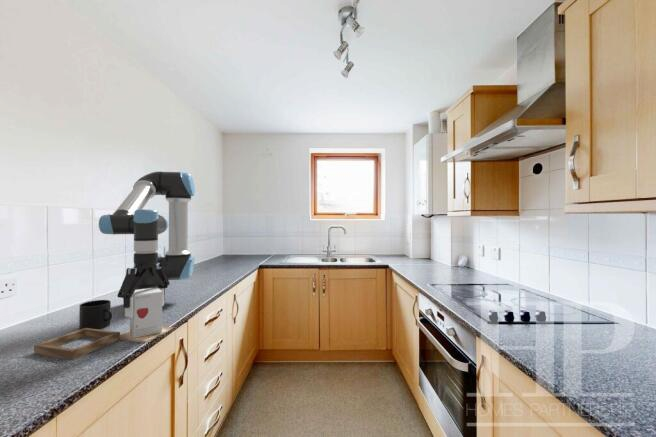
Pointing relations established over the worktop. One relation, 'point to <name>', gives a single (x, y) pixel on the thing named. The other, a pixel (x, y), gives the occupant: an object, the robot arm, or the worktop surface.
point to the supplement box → (146, 312)
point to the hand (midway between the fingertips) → (145, 310)
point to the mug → (95, 314)
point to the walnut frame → (52, 345)
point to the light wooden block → (144, 339)
